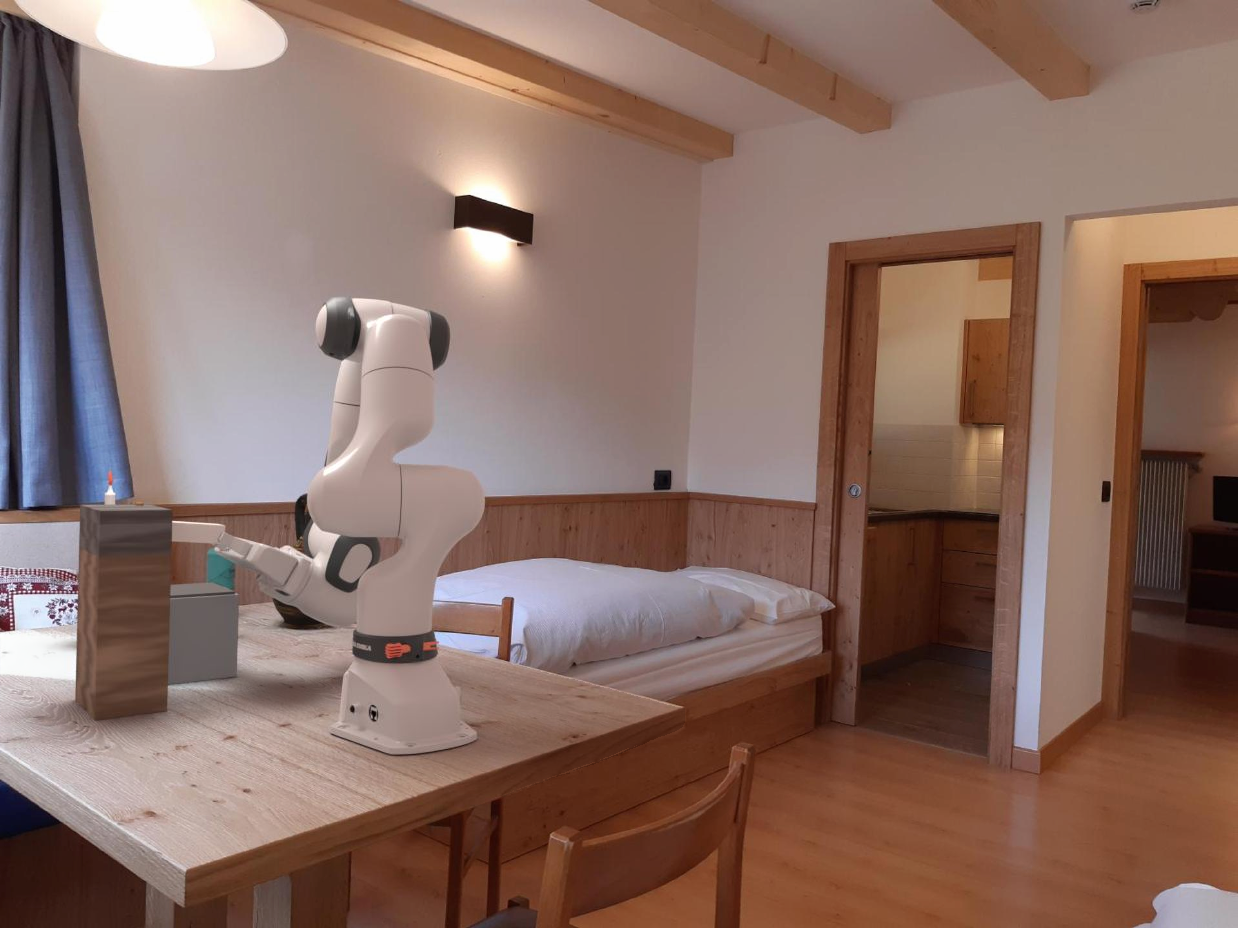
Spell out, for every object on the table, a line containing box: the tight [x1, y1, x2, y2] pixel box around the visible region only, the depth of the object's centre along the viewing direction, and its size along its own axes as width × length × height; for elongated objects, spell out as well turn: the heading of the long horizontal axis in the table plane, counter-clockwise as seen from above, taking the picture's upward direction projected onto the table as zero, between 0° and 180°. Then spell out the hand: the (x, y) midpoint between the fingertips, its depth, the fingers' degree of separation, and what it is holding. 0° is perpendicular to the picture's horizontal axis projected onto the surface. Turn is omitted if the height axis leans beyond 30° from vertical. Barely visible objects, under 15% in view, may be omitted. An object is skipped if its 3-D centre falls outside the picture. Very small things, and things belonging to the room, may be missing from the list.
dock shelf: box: [168, 582, 240, 685], centre depth 175 cm, size 14×16×15 cm
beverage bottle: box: [205, 533, 237, 591], centre depth 229 cm, size 6×7×20 cm
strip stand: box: [74, 502, 174, 721], centre depth 154 cm, size 14×10×31 cm
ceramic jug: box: [271, 492, 327, 630], centre depth 226 cm, size 17×15×30 cm
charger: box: [172, 520, 226, 544], centre depth 157 cm, size 4×16×3 cm, turn 129°
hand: (211, 533), depth 162 cm, fingers open, 8 cm apart
